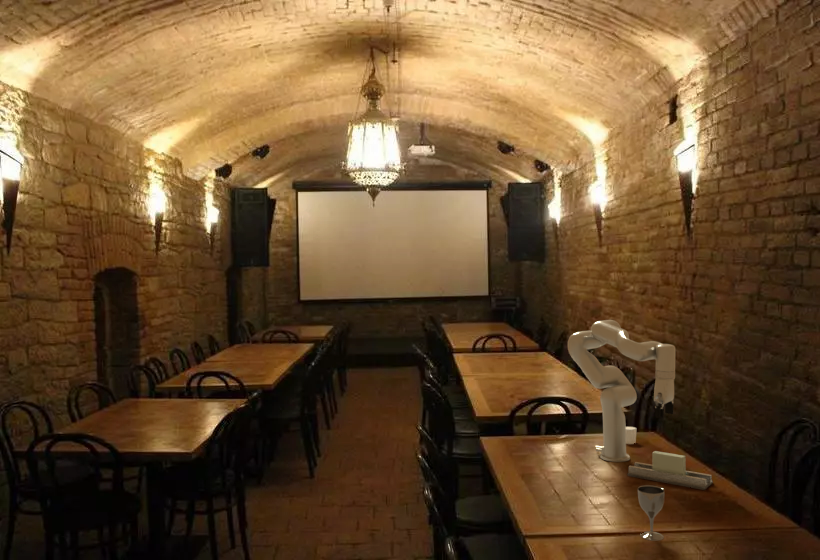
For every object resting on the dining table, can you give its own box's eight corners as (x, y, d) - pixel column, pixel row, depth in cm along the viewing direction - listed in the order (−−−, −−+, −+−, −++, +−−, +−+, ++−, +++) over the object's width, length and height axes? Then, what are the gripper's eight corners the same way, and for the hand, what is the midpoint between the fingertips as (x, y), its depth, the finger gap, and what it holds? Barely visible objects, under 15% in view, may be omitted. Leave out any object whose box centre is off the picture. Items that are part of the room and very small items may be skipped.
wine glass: (634, 532, 221) (633, 486, 220) (658, 530, 221) (657, 484, 221) (645, 542, 213) (644, 494, 212) (669, 540, 213) (668, 492, 213)
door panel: (652, 474, 274) (652, 452, 273) (655, 473, 276) (655, 451, 276) (683, 480, 266) (682, 457, 266) (685, 478, 268) (685, 455, 268)
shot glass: (635, 440, 329) (634, 426, 328) (638, 444, 322) (638, 429, 322) (620, 440, 329) (620, 426, 329) (623, 444, 322) (623, 429, 322)
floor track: (627, 475, 277) (627, 467, 277) (637, 469, 284) (637, 461, 284) (704, 490, 257) (704, 480, 257) (712, 483, 265) (712, 474, 265)
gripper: (664, 370, 288) (663, 410, 289) (647, 376, 275) (646, 418, 276) (682, 372, 282) (681, 413, 284) (665, 379, 270) (664, 421, 271)
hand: (664, 415), depth 280 cm, fingers open, 9 cm apart
